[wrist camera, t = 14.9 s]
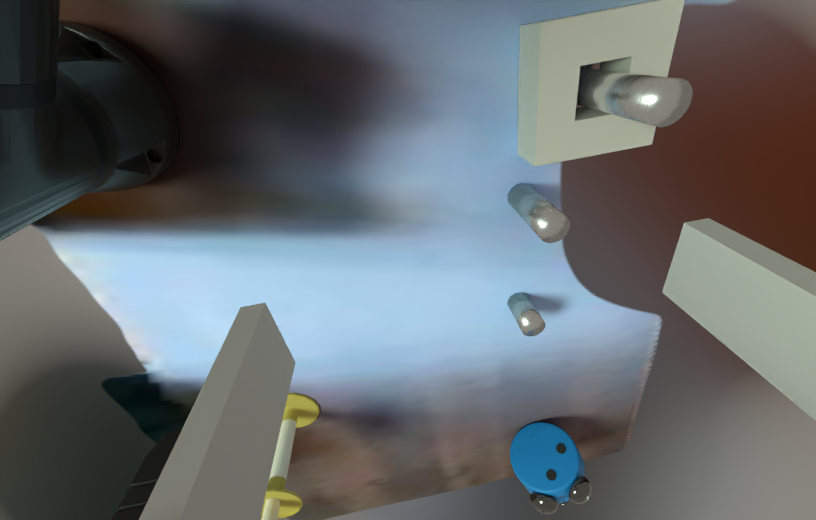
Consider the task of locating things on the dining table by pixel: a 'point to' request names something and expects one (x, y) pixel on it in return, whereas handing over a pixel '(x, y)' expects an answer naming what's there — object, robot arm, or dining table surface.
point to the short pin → (526, 314)
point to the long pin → (635, 96)
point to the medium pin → (538, 213)
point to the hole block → (560, 68)
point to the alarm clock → (549, 466)
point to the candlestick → (287, 458)
